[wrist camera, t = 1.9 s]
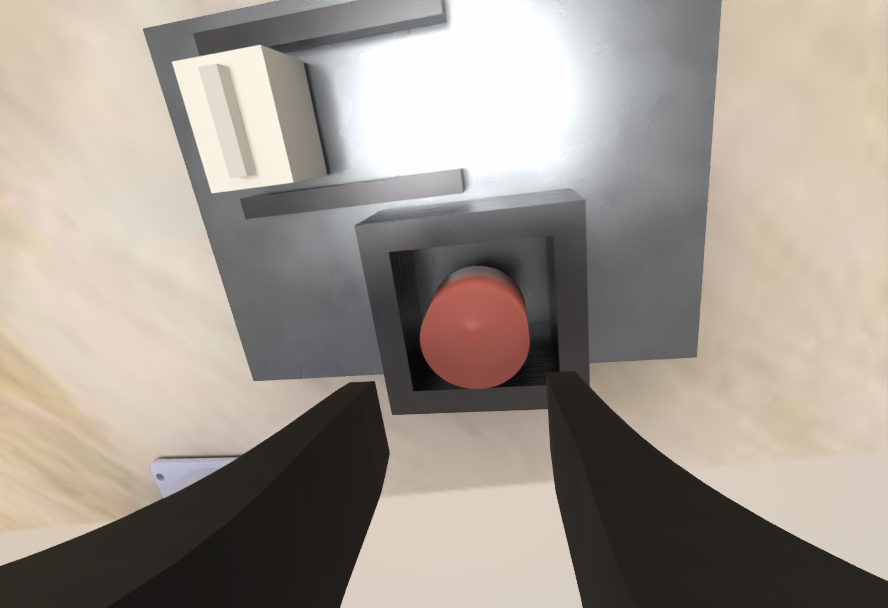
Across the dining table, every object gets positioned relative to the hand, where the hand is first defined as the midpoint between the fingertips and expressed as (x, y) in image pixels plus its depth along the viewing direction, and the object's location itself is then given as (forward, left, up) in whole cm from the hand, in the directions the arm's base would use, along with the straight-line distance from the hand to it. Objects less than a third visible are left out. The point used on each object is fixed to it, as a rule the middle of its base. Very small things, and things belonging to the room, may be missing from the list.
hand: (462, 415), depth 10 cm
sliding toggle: (+7, +7, -9) cm, 13 cm away
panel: (+4, +2, -10) cm, 11 cm away
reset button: (0, 0, -6) cm, 6 cm away
